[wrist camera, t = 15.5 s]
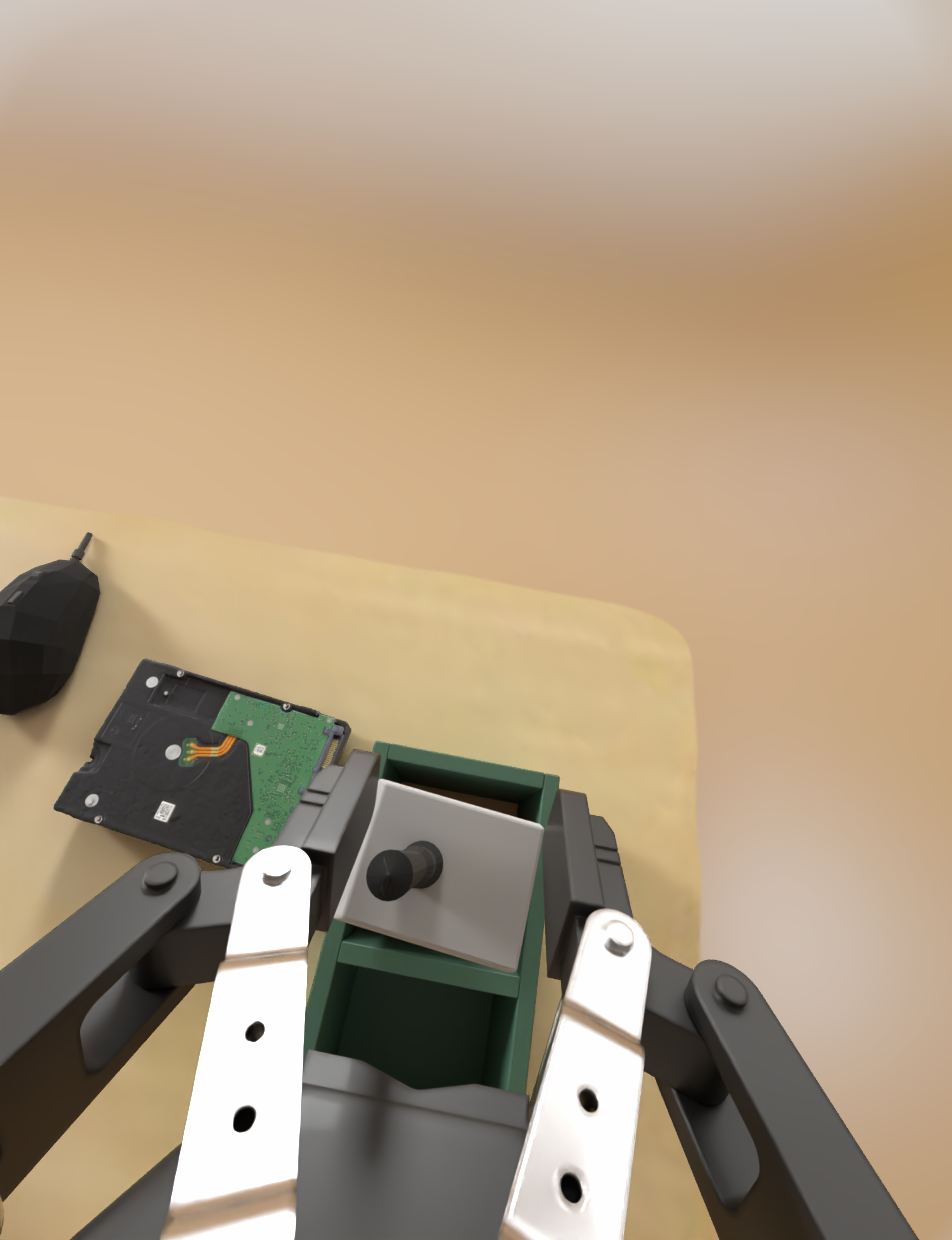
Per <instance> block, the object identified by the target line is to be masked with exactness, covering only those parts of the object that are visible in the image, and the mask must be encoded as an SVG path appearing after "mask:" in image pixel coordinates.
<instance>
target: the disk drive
mask: <svg viewBox="0 0 952 1240" xmlns="http://www.w3.org/2000/svg"><path fill="white" fill-rule="evenodd" d="M350 732H351V728H350V726H349V725H348V723H347V722H345V721H342V720H338V719H335V718H333V717H330V716H327V715H324V714H321V713H320V712H319V711H316V710H313V709H311V708H307V707H303V706H298V705H294V704H291V703H289V702H285V701H281V700H278V699H275V698H272V697H269V696H266V695H262V694H259V693H257V692H252V691H249V690H247V689H243V688H240V687H237V686H233V685H230V684H227V683H224V682H220V681H217V680H214V679H211V678H208V677H204V676H201V675H198V674H195V673H192V672H188V671H185V670H182V669H180V668H177V667H174V666H171V665H168V664H164V663H159V662H156V661H152V660H148V659H143V660H142V661H141V662H140V664H139V666H138V667H137V669H136V671H135V672H134V674H133V676H132V678H131V679H130V681H129V682H128V684H127V686H126V689H124V691H123V693H122V695H121V696H120V698H119V699H118V701H117V702H116V704H115V706H114V708H113V709H112V711H111V712H110V714H109V715H108V717H107V718H106V720H105V722H104V724H103V725H102V727H101V728H100V730H99V732H98V733H97V735H96V737H95V738H94V743H93V745H94V746H93V748H92V752H91V754H90V758H92V761H91V762H86V763H85V764H84V766H83V767H81V768H80V770H79V771H78V772H75V773H73V775H72V776H71V778H70V780H69V781H68V783H67V785H66V787H65V788H64V790H63V792H62V793H61V795H60V796H59V798H58V800H57V801H56V803H55V804H54V810H56V811H59V812H63V813H65V814H67V815H70V816H72V817H73V818H76V819H80V820H82V821H85V822H89V823H93V824H97V825H100V826H103V827H105V828H109V829H111V830H115V831H117V832H120V833H124V834H127V835H130V836H133V837H136V838H139V839H142V840H144V841H147V842H151V843H153V844H157V845H160V846H162V847H165V848H168V849H171V850H175V851H178V852H181V853H186V854H188V855H191V856H192V857H195V858H199V859H202V860H204V861H207V862H210V863H213V864H215V865H220V866H223V867H225V868H228V869H232V868H237V867H241V866H244V865H245V864H246V863H247V861H248V860H249V859H250V858H251V857H252V856H253V855H255V854H256V853H258V852H260V851H261V850H263V849H266V848H269V847H271V846H272V845H273V843H274V841H275V840H276V838H277V837H278V835H279V833H280V832H281V830H282V828H283V827H284V825H285V823H286V822H287V820H288V818H289V817H290V815H291V813H292V812H293V810H294V808H295V807H296V805H297V803H299V801H300V799H301V797H302V795H303V794H304V792H305V791H306V789H307V787H308V785H309V784H310V782H311V780H312V779H313V777H314V775H315V774H317V773H318V772H319V771H321V770H322V769H324V768H325V767H326V766H328V765H329V764H333V765H338V762H339V760H340V758H341V755H342V753H343V750H344V747H345V745H346V742H347V739H348V737H349V735H350Z"/></svg>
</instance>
